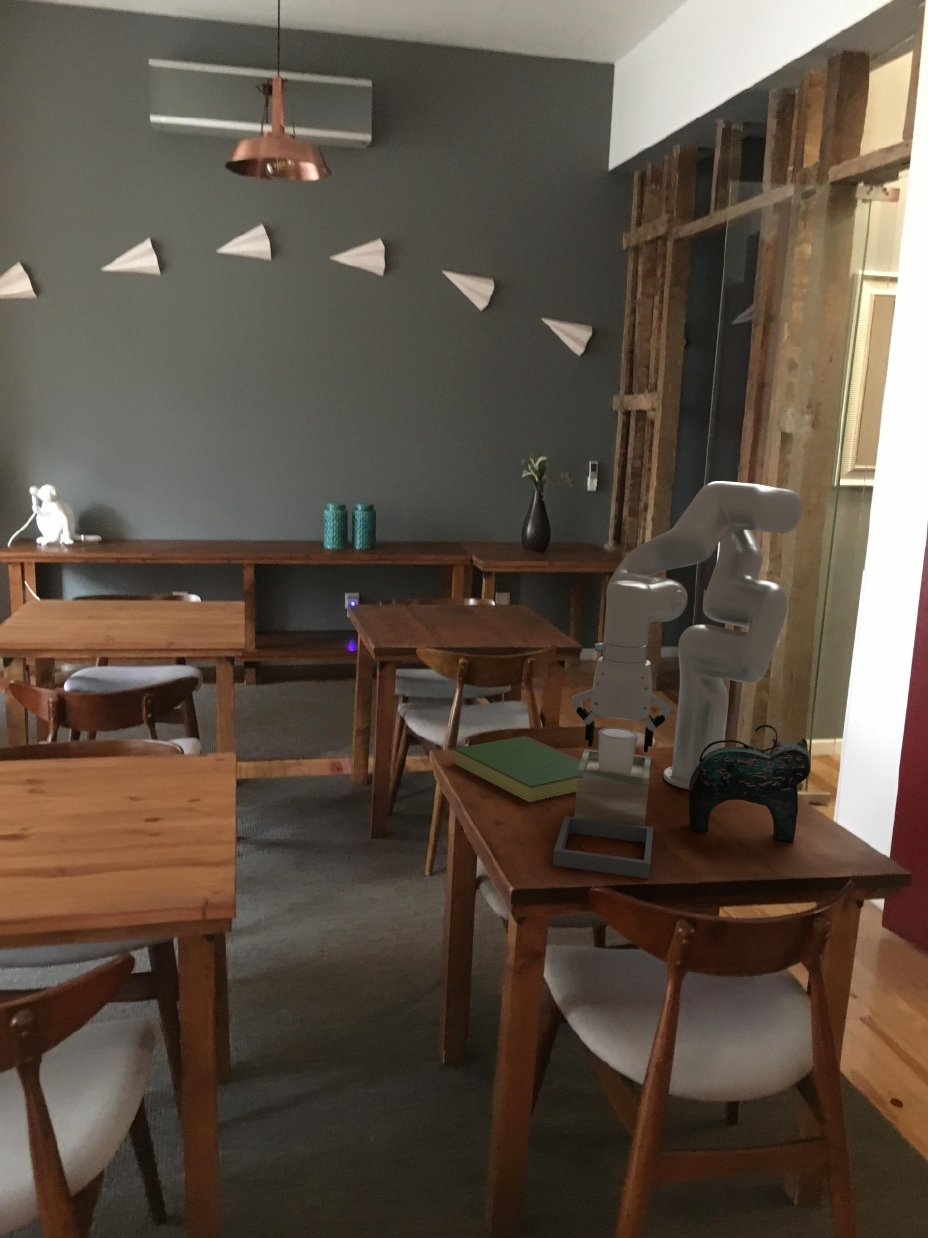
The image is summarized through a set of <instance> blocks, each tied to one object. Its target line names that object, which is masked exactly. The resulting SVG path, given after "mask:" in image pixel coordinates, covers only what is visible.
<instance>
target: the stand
mask: <svg viewBox="0 0 928 1238" xmlns="http://www.w3.org/2000/svg"><path fill="white" fill-rule="evenodd" d="M580 760H581V762H580V765H579V768H578V775H577V788H576V792H575V800H574V801H575V803H574V815H573V817H576V818H584V819H592V820H600V821H608V822H615V823H623V824H631V825H639V826H646V825H645V824H646V815H647V806H648V805H647V803H648V793H649V784H650V772H651V761H652V756H649V755H641V754H640V755H639V754H634V759H633V764H632V770H631V773H630V774H624V773H616V772H607V771H599V749H598V750H597V749H596V750H595V749H588V748H587V749H586V748H584V750H583V752H582V756H581V758H580Z"/></svg>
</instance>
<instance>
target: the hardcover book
mask: <svg viewBox="0 0 928 1238" xmlns="http://www.w3.org/2000/svg"><path fill="white" fill-rule="evenodd" d="M453 751H455V754H454V755H455V756H454V758H455V759H454V765H456V766H458V767H460V768H461V769H464V770H465V771H468V773H471V774H473V775H475V776H477V777H479V778H481V779H484V780H485V781H487V782H489V783H491V784H493V785H494V786H496V787H499V788H500V789H503V790H505V791H506V792H508V793H510V794H512V795H514V796H515V797H518V796H519V797H518V798H520V799H522V800H524V801H526V802H527V803H533V802H538V801H543V800H546V799H545V798H547V799H550V798H549V797H551V798H554V797H553V796H556V797H559V796H560V797H561V796H563V795H568V794H573V793H576V788H577V775H578V768H579V765H580V762H581V758H577V757H576V756H573V755H571V754H569V753H566V752H565V751H562V750H559V749H557V748H555V747H553V746H552V745H551V746H550V745H548V744H546V743H543V742H541V741H539V740H537V739H534V738H532V737H530V736H529V735H528V736H527V735H522V736H517V737H510V738H506V739H500V740H494V741H489V742H484V743H479V744H478V743H477V744H473V745H467V746H460V747H455V748H453ZM542 799H543V800H542ZM537 800H538V801H537Z"/></svg>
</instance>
